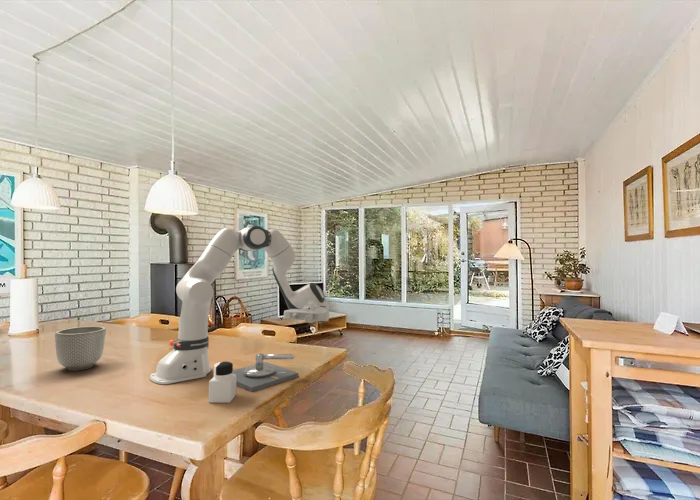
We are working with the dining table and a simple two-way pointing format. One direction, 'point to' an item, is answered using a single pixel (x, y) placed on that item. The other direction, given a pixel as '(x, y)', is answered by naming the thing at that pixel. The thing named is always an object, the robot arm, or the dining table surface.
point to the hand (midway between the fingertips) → (299, 317)
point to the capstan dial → (261, 369)
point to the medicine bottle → (222, 383)
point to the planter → (79, 346)
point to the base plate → (263, 378)
